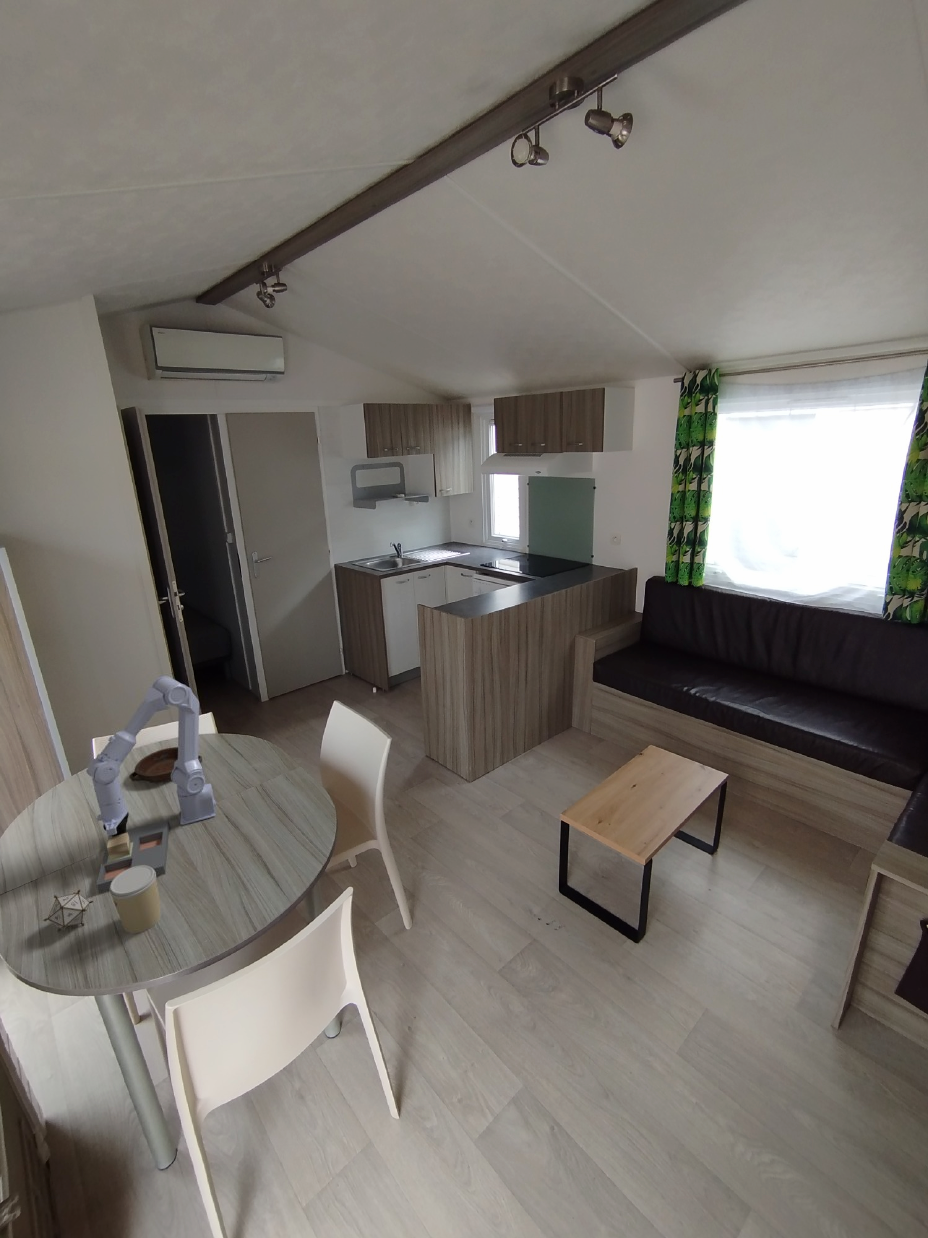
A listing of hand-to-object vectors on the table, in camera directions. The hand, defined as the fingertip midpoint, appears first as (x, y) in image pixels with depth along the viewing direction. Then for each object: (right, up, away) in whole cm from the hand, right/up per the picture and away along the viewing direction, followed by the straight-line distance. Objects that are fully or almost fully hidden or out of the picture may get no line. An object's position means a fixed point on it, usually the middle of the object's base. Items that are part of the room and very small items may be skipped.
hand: (121, 841), depth 154 cm
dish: (-7, +8, +38) cm, 40 cm away
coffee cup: (+18, -10, -22) cm, 30 cm away
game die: (+2, -11, -22) cm, 25 cm away
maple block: (+2, -2, -3) cm, 4 cm away
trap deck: (+5, -4, -1) cm, 6 cm away
